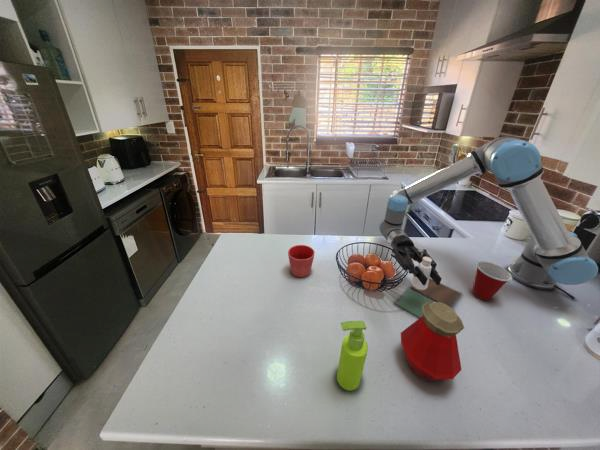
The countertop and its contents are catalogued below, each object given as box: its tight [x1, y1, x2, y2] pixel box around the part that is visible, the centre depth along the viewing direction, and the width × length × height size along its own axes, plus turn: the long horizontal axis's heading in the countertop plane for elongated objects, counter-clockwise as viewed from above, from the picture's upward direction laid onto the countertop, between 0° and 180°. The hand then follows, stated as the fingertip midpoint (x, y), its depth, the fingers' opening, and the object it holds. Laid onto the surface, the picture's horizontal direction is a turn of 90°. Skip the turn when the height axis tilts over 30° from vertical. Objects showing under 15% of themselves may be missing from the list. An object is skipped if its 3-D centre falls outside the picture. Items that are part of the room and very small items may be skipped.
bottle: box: [400, 301, 465, 382], centre depth 63 cm, size 16×14×20 cm
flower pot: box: [287, 244, 316, 278], centre depth 101 cm, size 11×11×10 cm
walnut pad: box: [410, 278, 461, 308], centre depth 95 cm, size 14×11×1 cm
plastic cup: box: [472, 260, 513, 301], centre depth 91 cm, size 11×11×12 cm
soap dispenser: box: [336, 320, 369, 392], centre depth 59 cm, size 6×7×20 cm
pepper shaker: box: [410, 257, 433, 290], centre depth 83 cm, size 5×5×11 cm
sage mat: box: [395, 289, 434, 319], centre depth 87 cm, size 14×11×1 cm
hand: (432, 281), depth 78 cm, fingers closed on pepper shaker, 4 cm apart
